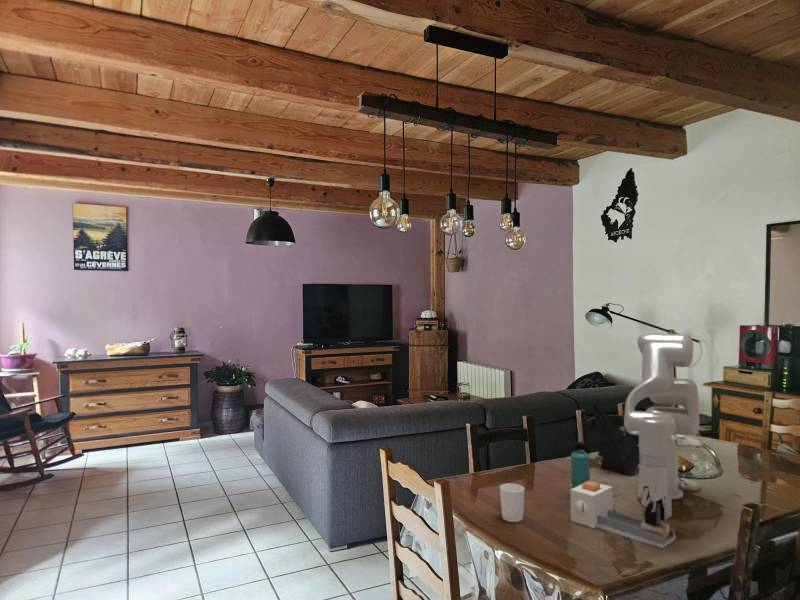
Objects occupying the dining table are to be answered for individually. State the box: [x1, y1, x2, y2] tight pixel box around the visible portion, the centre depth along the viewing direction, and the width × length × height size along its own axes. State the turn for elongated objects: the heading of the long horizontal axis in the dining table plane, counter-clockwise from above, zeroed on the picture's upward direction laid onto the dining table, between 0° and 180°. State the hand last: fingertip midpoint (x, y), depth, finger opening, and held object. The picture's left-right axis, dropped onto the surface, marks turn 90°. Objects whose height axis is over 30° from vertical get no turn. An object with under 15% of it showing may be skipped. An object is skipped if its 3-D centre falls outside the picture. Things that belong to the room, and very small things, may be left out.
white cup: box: [499, 483, 525, 523], centre depth 170 cm, size 8×8×10 cm
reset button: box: [582, 480, 601, 492], centre depth 168 cm, size 4×4×4 cm
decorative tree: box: [592, 403, 640, 477], centre depth 214 cm, size 15×15×35 cm
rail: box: [596, 510, 677, 549], centre depth 157 cm, size 9×20×3 cm, turn 41°
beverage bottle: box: [570, 441, 591, 489], centre depth 186 cm, size 6×7×20 cm
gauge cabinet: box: [569, 483, 614, 529], centre depth 167 cm, size 12×8×10 cm, turn 131°
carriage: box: [641, 502, 670, 538], centre depth 152 cm, size 5×6×9 cm
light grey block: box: [648, 487, 673, 520], centre depth 170 cm, size 4×7×10 cm, turn 39°
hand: (654, 521), depth 152 cm, fingers open, 4 cm apart
